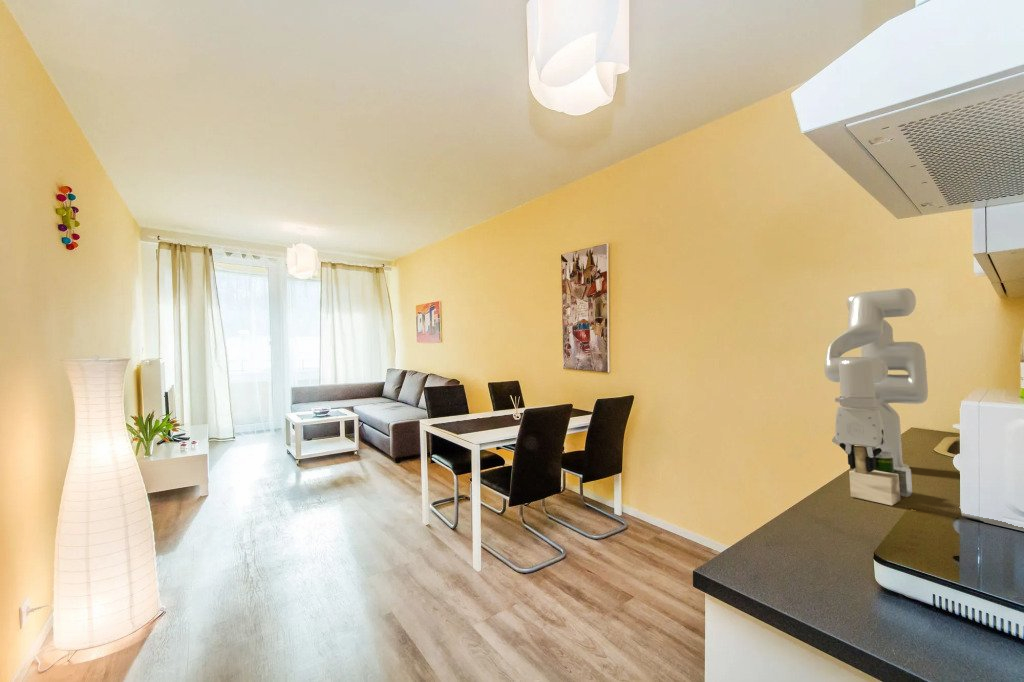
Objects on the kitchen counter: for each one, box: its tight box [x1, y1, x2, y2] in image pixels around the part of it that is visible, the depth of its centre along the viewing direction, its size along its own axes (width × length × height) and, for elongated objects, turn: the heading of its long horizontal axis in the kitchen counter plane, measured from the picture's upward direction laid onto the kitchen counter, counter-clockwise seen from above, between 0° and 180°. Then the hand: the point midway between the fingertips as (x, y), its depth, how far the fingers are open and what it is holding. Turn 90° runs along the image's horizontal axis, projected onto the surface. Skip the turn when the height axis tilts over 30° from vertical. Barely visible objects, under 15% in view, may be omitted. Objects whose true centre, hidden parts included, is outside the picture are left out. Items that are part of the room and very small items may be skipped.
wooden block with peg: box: [848, 445, 901, 506], centre depth 117 cm, size 6×9×14 cm, turn 32°
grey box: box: [894, 466, 913, 498], centre depth 122 cm, size 4×9×7 cm, turn 32°
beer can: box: [874, 451, 894, 473], centre depth 120 cm, size 5×5×12 cm
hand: (862, 468), depth 118 cm, fingers closed on wooden block with peg, 3 cm apart
